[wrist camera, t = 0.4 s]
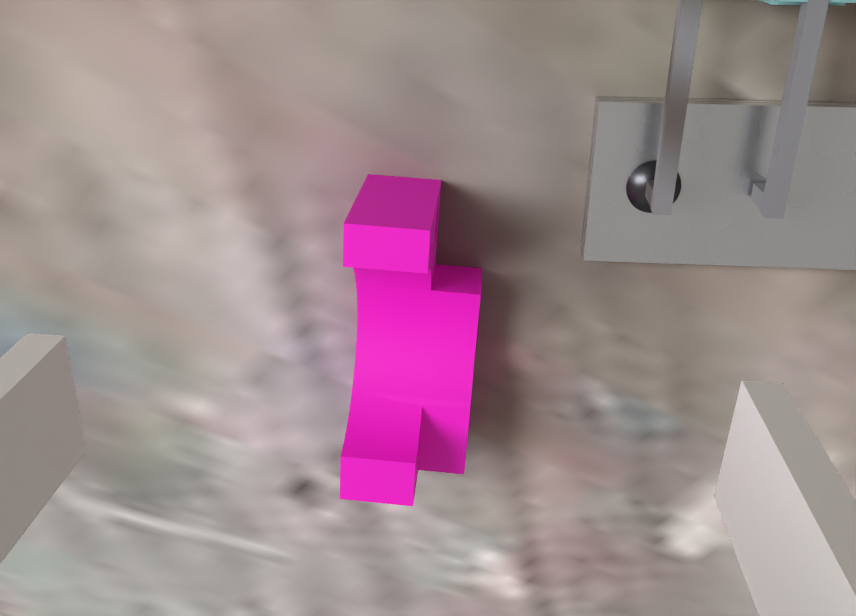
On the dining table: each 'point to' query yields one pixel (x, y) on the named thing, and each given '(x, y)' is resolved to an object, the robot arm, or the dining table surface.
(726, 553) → the dining table surface
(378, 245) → the toy block
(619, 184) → the bolt plate
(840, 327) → the dining table surface
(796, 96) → the sliding trammel head
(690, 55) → the rail
